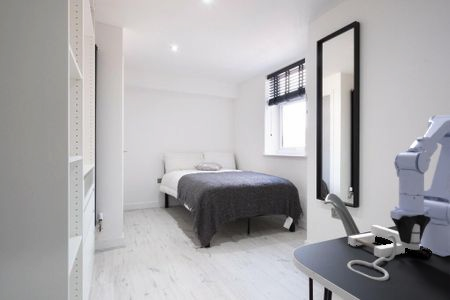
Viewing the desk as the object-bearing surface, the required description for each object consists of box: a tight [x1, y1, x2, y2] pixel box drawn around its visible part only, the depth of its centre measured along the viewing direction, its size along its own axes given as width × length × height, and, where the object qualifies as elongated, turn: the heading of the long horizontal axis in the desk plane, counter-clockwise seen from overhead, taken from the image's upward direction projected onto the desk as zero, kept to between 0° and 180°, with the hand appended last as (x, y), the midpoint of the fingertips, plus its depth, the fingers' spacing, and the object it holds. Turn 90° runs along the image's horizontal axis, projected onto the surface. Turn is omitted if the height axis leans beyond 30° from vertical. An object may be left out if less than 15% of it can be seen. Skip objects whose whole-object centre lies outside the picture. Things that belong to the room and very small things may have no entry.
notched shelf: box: [347, 224, 405, 259], centre depth 76 cm, size 13×11×5 cm
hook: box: [347, 235, 397, 282], centre depth 65 cm, size 7×9×20 cm
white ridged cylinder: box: [402, 224, 421, 251], centre depth 69 cm, size 4×4×6 cm
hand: (410, 241), depth 69 cm, fingers closed on white ridged cylinder, 4 cm apart
